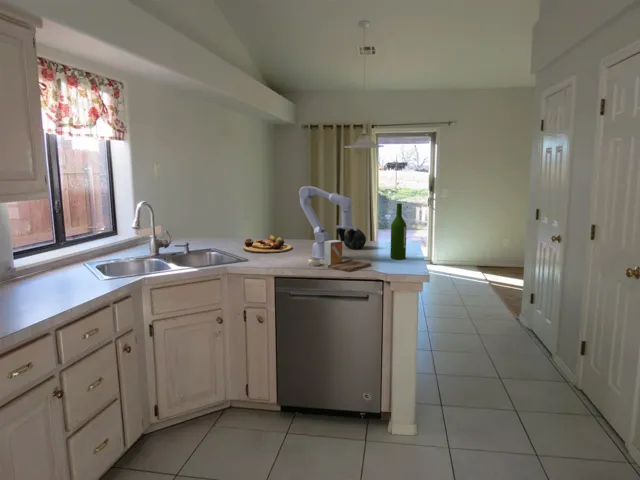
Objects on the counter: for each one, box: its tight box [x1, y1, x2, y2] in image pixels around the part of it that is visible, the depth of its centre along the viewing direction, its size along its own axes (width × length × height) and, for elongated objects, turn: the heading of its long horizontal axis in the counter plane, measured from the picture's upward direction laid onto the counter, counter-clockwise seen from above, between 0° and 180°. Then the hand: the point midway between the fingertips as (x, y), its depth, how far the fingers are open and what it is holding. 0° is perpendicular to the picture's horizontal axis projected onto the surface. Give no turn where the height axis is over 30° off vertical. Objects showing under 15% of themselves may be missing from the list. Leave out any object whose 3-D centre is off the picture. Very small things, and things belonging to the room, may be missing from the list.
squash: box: [343, 228, 367, 250], centre depth 302 cm, size 14×15×15 cm
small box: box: [323, 239, 343, 266], centre depth 253 cm, size 8×6×13 cm
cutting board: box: [327, 259, 372, 273], centre depth 247 cm, size 14×20×2 cm
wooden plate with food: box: [242, 235, 293, 255], centre depth 300 cm, size 32×32×8 cm
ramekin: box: [307, 257, 321, 267], centre depth 251 cm, size 6×6×4 cm
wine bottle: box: [389, 203, 407, 261], centre depth 267 cm, size 9×9×32 cm
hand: (346, 241), depth 265 cm, fingers open, 5 cm apart
